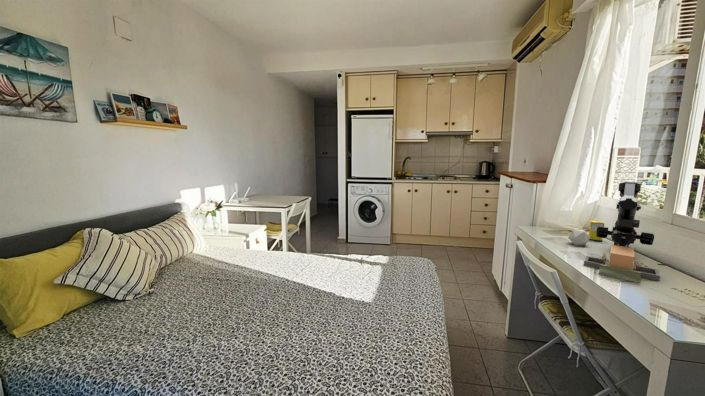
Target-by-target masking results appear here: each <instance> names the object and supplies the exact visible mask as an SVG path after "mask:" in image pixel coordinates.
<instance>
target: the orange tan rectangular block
mask: <svg viewBox="0 0 705 396" xmlns="http://www.w3.org/2000/svg"><path fill="white" fill-rule="evenodd" d="M609 253H610V254H609V261H608V266H613V267H618V268H623V269H628V270H633V268H634V267H633V266H634V263H635V249H634V247H630V246H629V247H623V246H617V245H614V244H611V249H610V252H609Z"/></svg>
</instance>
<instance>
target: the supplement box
mask: <svg viewBox="0 0 705 396" xmlns="http://www.w3.org/2000/svg"><path fill="white" fill-rule="evenodd" d="M599 226H600V227H605V221H603V220H602V221H601V220H593V219H590V224H589V231H588V235H589V236H590V239H589V240H588V241H595V242H601V243H602V242H603V239H604V238H600V237H597V236H596V232H597V227H599Z"/></svg>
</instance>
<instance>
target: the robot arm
mask: <svg viewBox="0 0 705 396" xmlns="http://www.w3.org/2000/svg"><path fill="white" fill-rule="evenodd" d="M641 187H642V184H641V183H638V182H637V181H629V180H628V181H623V182H620V183H619V184H618V191H617V192H619V200H618V201H617V202H616V206H615V207H616V210H617V219H616V220H615V222H614V226H612V230H609V227H606V226H604V227H600V226H599V227H597V232H596V236H597V237H600V238H603V239H606V238H608V236H611V237H610V239H611V241H613V245H617V246H623V247H630V245H631V244H632V245H633V244H634V243H635V242H636V240H639V243H640V244H642V245H646V246H647V245H648V246H652V245H653V244H654V240H655V234H654V233H652V232H646V231H645V232H644V231H641V233H640V234H638V232H637V231H636V229H635V228H637V229H638V228H640V222H641V221H640V219H635V218H636V213H637V212H638V211H639V210H641V209H642V206H641V205H640V203H638V199H637V197H638V193H641V189H642V188H641Z"/></svg>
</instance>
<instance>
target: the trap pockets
mask: <svg viewBox="0 0 705 396" xmlns="http://www.w3.org/2000/svg"><path fill="white" fill-rule="evenodd" d="M601 262H602V258H600V257H594V256H588V255H586V257H585V258H584V261H583V266H585V267H590V268H595V269H598V270H599V269H600V264H602V263H601ZM638 272H641V279H642V278H643V279H647V280H653V281H657V282H659V281H660V279H661V278H660V277H661V275H660V271H659V269H657V268H652V267H648V266H646V267H645V266H641V265H639V271H638Z"/></svg>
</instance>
